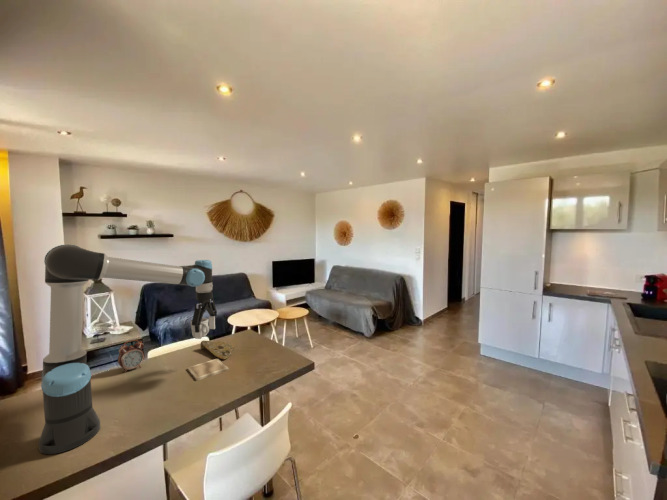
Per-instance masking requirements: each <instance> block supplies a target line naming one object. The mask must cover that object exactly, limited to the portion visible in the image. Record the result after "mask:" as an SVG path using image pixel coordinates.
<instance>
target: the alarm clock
mask: <svg viewBox="0 0 667 500" xmlns="http://www.w3.org/2000/svg"><path fill="white" fill-rule="evenodd" d="M134 341H135V343H134V345H132V344H131V345H129V346H128V345H126V344H127V343H130V342H134ZM144 347H145V345H144V343H143V341H142V340H140V341H139V340H138V339H131V340H128V341H126V342H124V343H123V345H121V346H120V347H119V349H118V353H119V355H118V357H117V363H118V365H119V366H120V367H121V368H122V369H123V371H124V373H127V370H128V371H129V370H134V369H136V368H138V367H139V369H140V368H142V367H141V365H142V364H143V363H144V360H145V355H146V354H145V351H144V350H143V349H144ZM141 361H142V362H141Z"/></svg>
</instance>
